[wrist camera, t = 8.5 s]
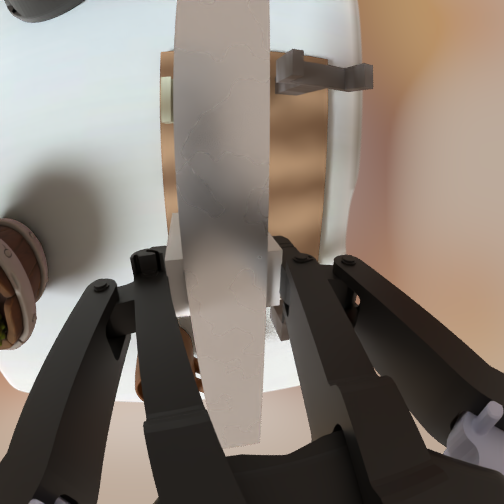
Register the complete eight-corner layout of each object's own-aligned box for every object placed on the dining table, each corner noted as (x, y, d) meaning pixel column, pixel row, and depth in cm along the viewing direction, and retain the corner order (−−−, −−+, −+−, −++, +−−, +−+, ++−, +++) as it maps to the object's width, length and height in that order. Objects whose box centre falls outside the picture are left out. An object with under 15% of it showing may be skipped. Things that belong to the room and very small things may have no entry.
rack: (161, 54, 22) (146, 11, 12) (323, 61, 26) (387, 39, 15) (178, 305, 35) (180, 375, 24) (310, 289, 39) (351, 346, 28)
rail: (182, -17, 8) (182, -51, 5) (250, -16, 8) (268, -47, 6) (211, 416, 19) (217, 449, 17) (250, 411, 20) (259, 442, 17)
